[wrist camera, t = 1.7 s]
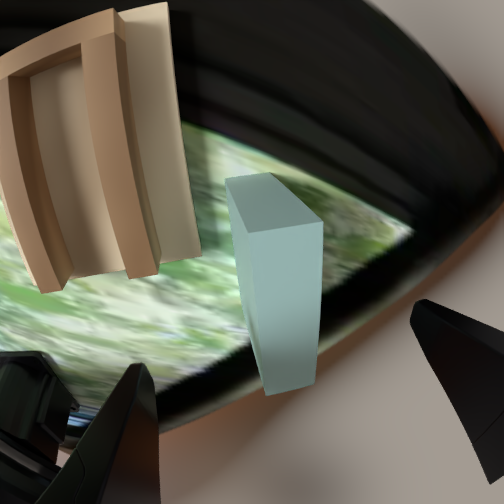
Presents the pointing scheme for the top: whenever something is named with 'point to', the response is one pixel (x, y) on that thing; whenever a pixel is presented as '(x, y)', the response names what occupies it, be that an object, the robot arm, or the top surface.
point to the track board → (96, 149)
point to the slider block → (277, 277)
